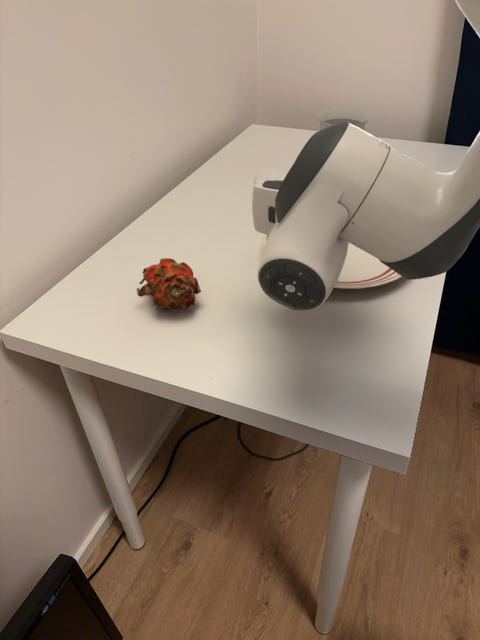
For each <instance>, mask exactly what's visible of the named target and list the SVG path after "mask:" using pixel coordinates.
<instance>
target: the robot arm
mask: <svg viewBox="0 0 480 640" xmlns="http://www.w3.org/2000/svg"><path fill="white" fill-rule="evenodd" d="M455 3H456V4H457V6H458V8H459V9H460V11H461V12H462V14H463V16H464V18H466V21H468V23H469V24H470V26H471V27H472V29H473V30H474V31H475V33H476V34H477V36H478V37H479V38H480V0H455ZM252 188H253V189H252V197H251V198H252V200H251V203H252V204H251V208H252V209H251V210H252V220H253V228H254V230H255V231H256V232H258V233H260V234H263V235H264V234H266V235H269V236H268V238H267V241H266V243H265V246H264V248H263V247H262V250H261V251H262V252H261V255H260V259H259V262H258V266H257V280H258V281H257V282H258V284H259V286H260V288H261V290H262V291H263V293H264V294H265V295H266V296H267V297H269V298H270V299H271V300H272V301H274V302H276V303H278V304H280V305H282V306H283V307H285V308H288V309H291V310H293V311H311V310H315V309H317V308H319V307H321V306H322V305H323V304H324V303H325V302H326V301H327V299H328V298H329V296H331V293H332V292H333V290H334V286H335V284H336V282H337V281H338V278H339V276H340V274H341V271H342V269H343V266H344V263H345V260H346V257H347V251H348V245H349V243H351V244H353V245H354V246H356V247H358V248H360V249H362V250H363V251H365V252H367V253H369V254H370V255H372V256H374V257H376V258H378V259H379V260H380V261H381V262H382V263H383V264H385V265H386V266H388V267H389V268H391V269H392V270H393V271H395V272H396V273H398V274H399V275H401V276H402V277H401V278H404V279H405V280H409V281H411V280H421V279H428V278H431V277H436V276H439V275H442V274H444V273H447V272H448V271H450V270H451V268H453V267H454V265H455V264H456V263H457V262H458V261H459V259H460V258H461V257H462V255H464V253H465V251H466V250H467V248H468V246H469V245H470V243H471V242H472V240H473V238H474V237H475V235H477V234H476V233H477V232H478V230H479V229H480V131H479V132H478V134H477V135H476V136H475V138H474V140H473V142H472V143H471V145H470V146H469V148H468V150H467V151H466V153H465V154H464V156H463V157H462V160H461V161H460V163H459V164H458V166H457V168H456V169H455V170H453V171H451V172H440V171H435V170H433V169H431V168H429V167H427V166H425V165H424V164H422V163H420V162H419V161H417V160H415V159H414V158H412V157H410V156H408V155H406V154H405V153H403V152H401V151H400V150H397V149H395V148H394V147H392V146H391V145H390V144H388V143H387V142H385V141H383V140H382V139H380V138H378V137H377V136H375V135H373V134H371V133H370V132H368V131H365V129H364V130H362V129H360V128H358V127H356V126H354V125H352V124H350V123H349V122H342V123H338V124H334V125H331V126H329V127H327V128H324V129H322V130H320V129H319V130H318V131H316V132H314V133H313V135H311V136H310V138H309V139H308V140H307V142H306V143H305V145H303V147H302V149H301V150H300V151H299V154H298V155H297V156H296V159H295V160H294V162H293V163H292V166H291V167H290V168H289V169H281V168H272V167H267V168H262V169H260V170H259V171H258V172H257V173H256V175H255V176H254V180H253V187H252Z"/></svg>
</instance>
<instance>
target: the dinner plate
mask: <svg viewBox="0 0 480 640" xmlns="http://www.w3.org/2000/svg"><path fill="white" fill-rule="evenodd" d="M268 236H269V235H266V234H263V237H262V241H261V242H262V243H261V244H262V249H263V248H264V246H265V243H266V241H267V238H268ZM401 278H403V277H402V276H401V275H399V274H398V273H396V272H395V271H393V270H392V269H391V268H389V267H388V266H386V265H385V264H383V263H382V262H381V261H380V260H379V259H378V258H376V257H374V256H372V255H370V254H369V253H367V252H365V251H363V250H362V249H360V248H358V247H356V246H354V245H353V244H351V243H349V245H348V251H347V257H346V260H345V263H344V266H343V269H342V271H341V274H340V276H339V278H338V281H337V282H336V284H335V286H334V288H335V289H347V290H348V289H350V290H352V289H354V290H357V289H366V288H374V287H379V286H383V285H386V284H390V283H392V282H395V281H397V280H399V279H401ZM334 288H333V289H334Z"/></svg>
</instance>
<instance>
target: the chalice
mask: <svg viewBox="0 0 480 640" xmlns="http://www.w3.org/2000/svg"><path fill="white" fill-rule="evenodd" d="M370 117H371V116H370V115H369V113H368V112H366V111H363V110H361V109H356V108H352V107H351V108H350V107H333V108H328V109H324V110H322V111H319V112H318V113H317V115H316V118H317V120H318V123H319V131H320V130H322V129H324V128H327V127H329V126H331V125H334V124H338V123H342V122H349V123H350V124H352V125H354V126H356V127H358V128H360V129H362V130H364V131H365V126H366V124H368V122H369V119H370Z"/></svg>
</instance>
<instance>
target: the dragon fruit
mask: <svg viewBox="0 0 480 640" xmlns="http://www.w3.org/2000/svg"><path fill="white" fill-rule="evenodd" d="M139 275H140V276H141V274H139ZM139 275H138V276H139ZM142 277H143V278H142V279H141V281H140V282H138V284H139V285H142V284H143V283H145V281H146V283H145V284H144V285H143V286H142V287H140V288H139V287H136V294H137V296H138V297H141V298H142V297H145V296H147V297H153V302H152V305H153V307H155V308H157V309H159V310H160V309H162V308H167V309H169V310H171V311H178V310H182V309H184V308H186V309H190V308H192V307H193V306H195V305H196V295H198V294H200V293H202V290H201V287H200V285H199V281H198V279H197V277H195V276H194V271H193V269H192V267H191V266H190V265H189V264H187V263H186V262H184V261H182V262H180V263H178V262H177V261H176V260H175V259H173V258H170V257H163V258H160V260H159V263H157V264H151V265H150V266H148V267H144V268H143V269H142Z"/></svg>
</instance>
